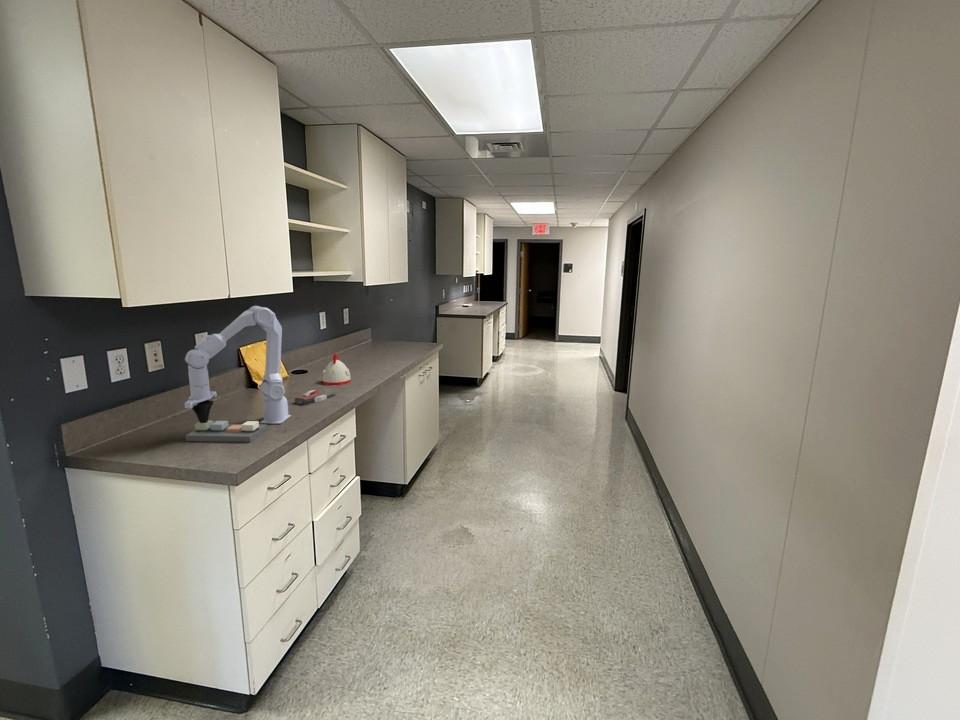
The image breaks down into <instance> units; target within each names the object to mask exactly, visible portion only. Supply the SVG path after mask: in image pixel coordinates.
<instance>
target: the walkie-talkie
mask: <svg viewBox="0 0 960 720" xmlns="http://www.w3.org/2000/svg"><path fill="white" fill-rule="evenodd" d="M337 393H338V392H337V391H334V392H331V393H328V394H324V393H322V392H320V391H318V390H316V389H312V390H309V391H307V392H306V393H302V394H301V395H299V396H297V397H294V404H295V405H301V406H307V405H310V404H313V403H318V402H323V401H326V400H327V399H328V398H329V397H331V396H334V395H335V394H337Z"/></svg>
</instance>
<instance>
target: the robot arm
mask: <svg viewBox="0 0 960 720" xmlns="http://www.w3.org/2000/svg"><path fill="white" fill-rule="evenodd" d="M256 325H258V326H260V327H261V329H263V330H264V331H265V332H266V341H265V343H266V345H265V370H264V371H265V372H264V375H263V376H262V381H261V383H260V384H259V385H260V386H259V390H260V393H261V394H263V396H262V407H263V418H264V419H262V420H261V421H260V422H259V424H265V425H268V424H270V425H271V424H273V425H275V424H277V425H278V424H279V425H280V424H282V423H283V422H285V421H286V420H288V419H289V418H290V417H292V415H291V414H289V406H288V405H289V404H288V399H287V398H286V396H284V395H285V394H286V393H285V392H286V390H285V386H284V384H283V381H284V380H283V378H282V375H281V365H282V364H281V363H282V361H281V360H282V339H283V338H282V337H283V327H282V325H281V323H280V322H279V320H278V319H277V316H276V313H275V312H273V311H272V310H271V309H270V308H268V307H263V306H260V305H253V306H251V307H249V308H248V309H247V310H245V311H243V312H242V313H241V314H240V315H238V317H237V318H235V319H234V320H232V321H231V323H230V324H229V325H227V326H226V327H225V328H224V329H223V330H222V331H221V332H220V333H212V334H208V335H206V337H205V338H206V339H205V340H204V341H202V342H201V343H200V344H198V345H194V349H191V350H188V351H187V353H186V355H185V357H184V361H185V362H186V364H188V365H187V370H188V371H187V372H188V379H189V381H188V382H189V391H190V396H189V397H188V399H187V401H185V402H184V408H185V409H192V411H194V413H195V415H196V417H197V419H198V422H200V423H206V422H208V420H209V418H210V417H209V416H210V411H211V409H212V406H213V405H214V400H211V399H212V398H216V397H218V395H217V391H216V390H215V391H213V390H211V387H210V377H209V370H208V364H209V361H210V359H212V358H213V357H215V356H216V355H218V353H219V352H221V351H222V350H223V349H224V348H226V347H227V342H228V340H229V339H231V338H232V337H233V336H235V335H236V334H237V333H240V331H242V330H243V329H244V328H245V327H251V326H252V327H253V326H256Z"/></svg>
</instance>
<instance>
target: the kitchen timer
mask: <svg viewBox="0 0 960 720" xmlns="http://www.w3.org/2000/svg"><path fill="white" fill-rule="evenodd" d="M332 357H333V358H332V360H331V361H330V362H329V363H328V364H327V366H326V367H325V369H323V372H322V384H323V385H324V384H326V385H325V386H330V385H337V386H343V384H345V385H348V384H350V383H351V382H352V379H351V372H350V369H349V368H348V367H347V366H346V364H345V363H344V362H342V361H341V360H339V357H338V353H334V355H333V356H332ZM349 382H350V383H349ZM347 383H348V384H347Z"/></svg>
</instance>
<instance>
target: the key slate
mask: <svg viewBox="0 0 960 720" xmlns="http://www.w3.org/2000/svg"><path fill="white" fill-rule="evenodd" d="M229 424H230V423H229V420H216V421H213V423H212V424H210V427H211V430H214V432H223V431H225V430H226V428H227V427H228V426H229Z"/></svg>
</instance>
